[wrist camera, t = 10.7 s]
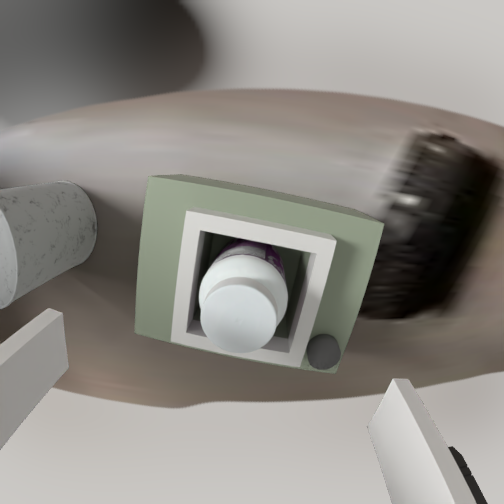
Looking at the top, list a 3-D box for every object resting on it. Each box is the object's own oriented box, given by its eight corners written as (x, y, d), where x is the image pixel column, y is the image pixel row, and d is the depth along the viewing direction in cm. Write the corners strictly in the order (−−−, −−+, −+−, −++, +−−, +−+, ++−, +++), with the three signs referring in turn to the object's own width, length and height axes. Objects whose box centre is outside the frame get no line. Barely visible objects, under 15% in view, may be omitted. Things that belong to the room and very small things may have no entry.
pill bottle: (286, 295, 25) (294, 362, 16) (221, 300, 26) (197, 367, 17) (280, 229, 24) (287, 267, 15) (212, 236, 25) (178, 276, 15)
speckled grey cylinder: (112, 213, 29) (31, 241, 17) (76, 283, 31) (6, 331, 19) (53, 164, 28) (-31, 169, 16) (24, 233, 30) (-51, 261, 18)
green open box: (164, 295, 30) (124, 345, 21) (181, 174, 27) (136, 176, 18) (321, 327, 30) (339, 389, 21) (354, 209, 27) (395, 229, 18)
